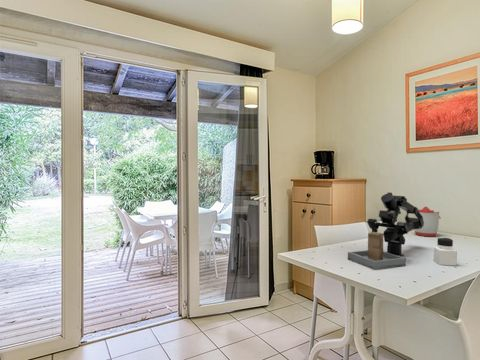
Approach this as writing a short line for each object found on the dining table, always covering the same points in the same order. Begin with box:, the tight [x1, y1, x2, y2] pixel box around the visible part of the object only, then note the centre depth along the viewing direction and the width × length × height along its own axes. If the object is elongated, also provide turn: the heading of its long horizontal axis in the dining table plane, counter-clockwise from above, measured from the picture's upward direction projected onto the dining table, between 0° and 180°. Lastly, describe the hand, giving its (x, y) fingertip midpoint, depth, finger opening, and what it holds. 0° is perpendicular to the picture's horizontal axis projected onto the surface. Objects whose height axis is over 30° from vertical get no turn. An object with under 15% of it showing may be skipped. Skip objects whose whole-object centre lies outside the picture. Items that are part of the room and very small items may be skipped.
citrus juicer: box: [412, 206, 442, 237], centre depth 212 cm, size 16×17×20 cm
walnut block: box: [367, 231, 384, 261], centre depth 147 cm, size 5×5×13 cm
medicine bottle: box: [433, 237, 458, 267], centre depth 146 cm, size 7×7×12 cm
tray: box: [347, 249, 407, 271], centre depth 147 cm, size 18×18×4 cm
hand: (381, 239), depth 151 cm, fingers open, 9 cm apart
